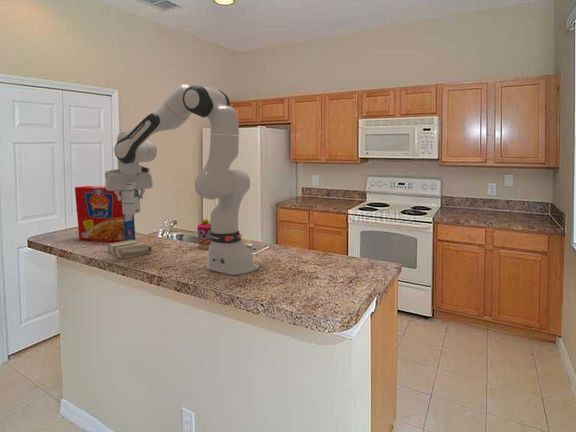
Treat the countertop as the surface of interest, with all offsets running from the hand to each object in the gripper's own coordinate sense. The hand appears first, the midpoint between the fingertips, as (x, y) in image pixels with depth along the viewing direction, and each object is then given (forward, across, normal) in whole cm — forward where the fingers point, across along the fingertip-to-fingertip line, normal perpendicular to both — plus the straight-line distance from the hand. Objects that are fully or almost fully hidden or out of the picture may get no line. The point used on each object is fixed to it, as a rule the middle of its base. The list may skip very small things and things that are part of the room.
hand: (130, 199), depth 175 cm
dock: (+25, -2, 0) cm, 25 cm away
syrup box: (+6, 0, 0) cm, 6 cm away
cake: (+25, +31, -16) cm, 42 cm away
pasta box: (+25, 0, +32) cm, 41 cm away
